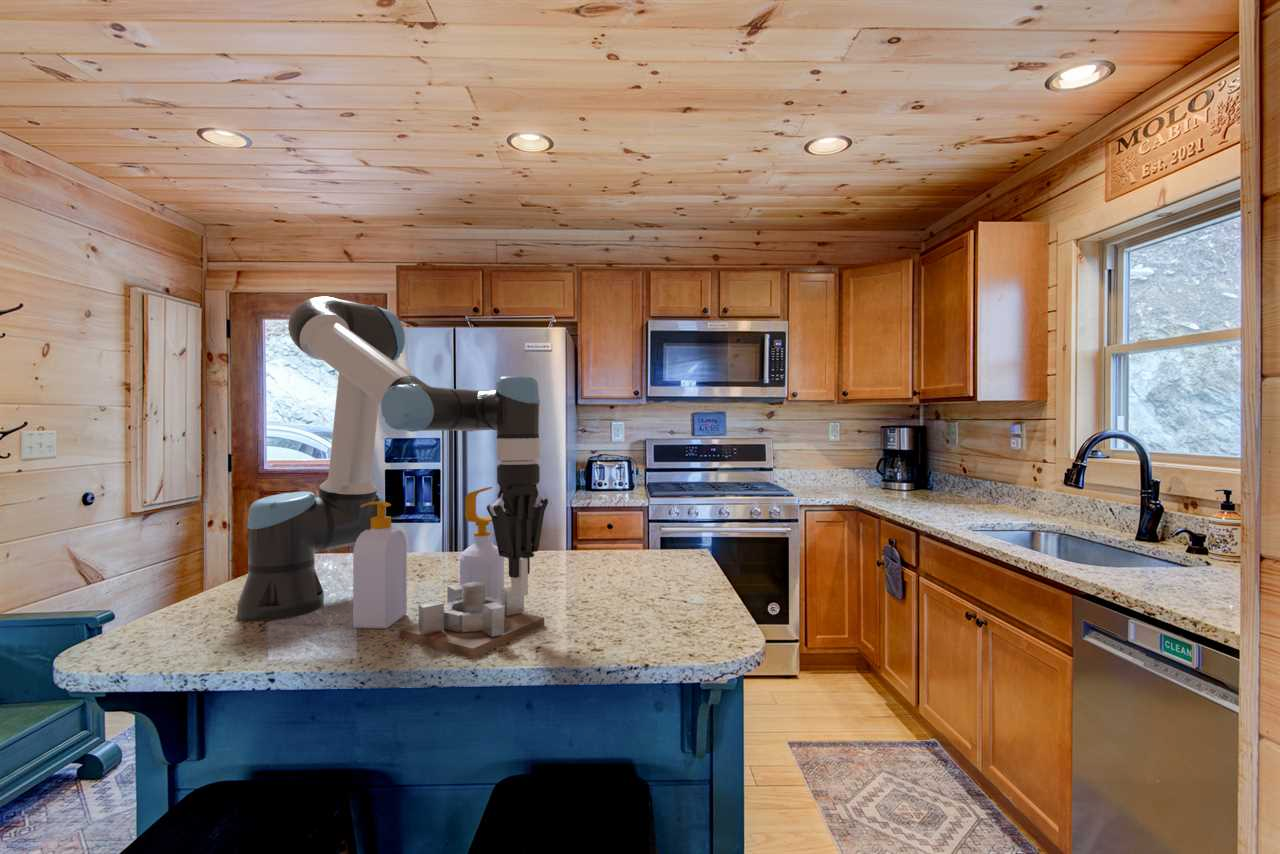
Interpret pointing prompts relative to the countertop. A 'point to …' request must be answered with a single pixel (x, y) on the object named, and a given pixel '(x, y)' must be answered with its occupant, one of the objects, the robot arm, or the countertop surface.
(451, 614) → the ring nut
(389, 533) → the soap bottle
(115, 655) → the countertop surface
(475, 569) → the soap bottle
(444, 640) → the hub
